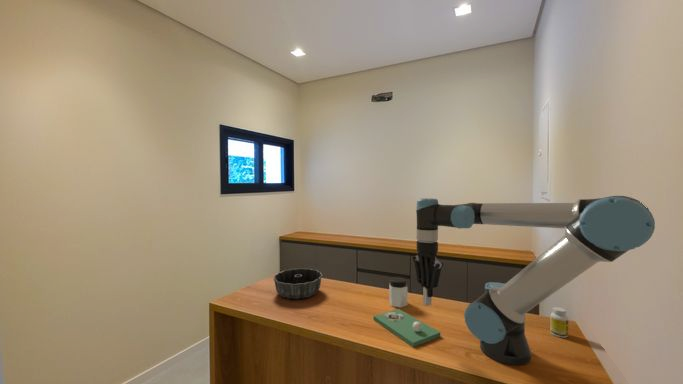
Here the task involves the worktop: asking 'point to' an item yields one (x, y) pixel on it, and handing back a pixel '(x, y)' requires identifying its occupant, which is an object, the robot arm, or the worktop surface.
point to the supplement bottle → (559, 322)
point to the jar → (398, 292)
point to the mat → (406, 327)
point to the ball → (417, 326)
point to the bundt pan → (298, 283)
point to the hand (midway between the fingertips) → (427, 304)
